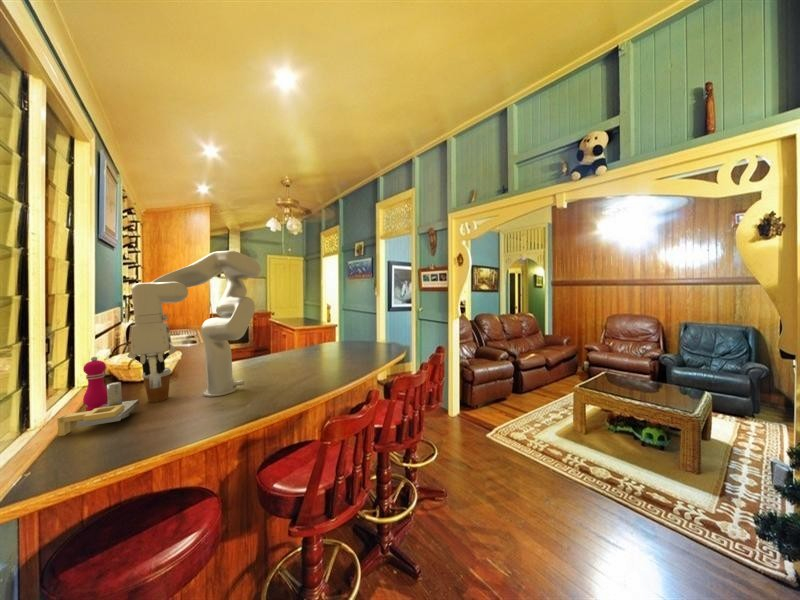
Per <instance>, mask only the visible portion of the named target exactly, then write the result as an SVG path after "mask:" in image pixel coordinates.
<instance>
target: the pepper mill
mask: <svg viewBox="0 0 800 600" xmlns="http://www.w3.org/2000/svg"><path fill="white" fill-rule="evenodd" d="M90 360H91V361H88V362H87V363H85V364H84V365H83V369H82V370H83V372H84V373H85V374H86V375H85V377H86V378H85V379H86V380H87V389H86V391H85V393H84V395H83V398H82V402H83V404H84V405H86V406H85V412H86V411H92V410H93V409H95V408H99V407H100V406H102V405H104V404H108V398H107V386H105V385H106V384H105V383H104V377H105V376H106V375H105V370H106V369H107V365H106V362H104V361H102V360H99V359H98V357H97V356H92V357H90Z"/></svg>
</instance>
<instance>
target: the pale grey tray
mask: <svg viewBox="0 0 800 600" xmlns="http://www.w3.org/2000/svg"><path fill="white" fill-rule="evenodd" d="M106 388H107V398H108V401H107V402H108V404H104V405H102V406H100V407H99V408H102V407H109V406H116V405H123V404H124V409H123V410H122V411H121V412H119V413H118V414H117V415H116V416H115V417H109V418H102V419H96V420H89V421H83V419H82V420H78V421H77V422H76V423H77V426H76V427H77V428H83V427H88V426H96V425H102V424H108V423H114V422H120V421H122V420H124V419H126V417H127V418H128V417H130V412H131V411H132V410H134V409H135V408H136V407H137V406H138V405H140V401H139V399H135V400H126V401H123V395H122V393H123V392H122V382H121V381H116V382H110V383H107V384H106ZM121 419H122V420H121Z"/></svg>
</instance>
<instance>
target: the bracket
mask: <svg viewBox="0 0 800 600" xmlns="http://www.w3.org/2000/svg"><path fill="white" fill-rule="evenodd" d="M123 409H124V404H123V405H116V406H109V407H102V408H95V409H93V410H92V411H86V410H85V411H81V412H73V413H67V414H62V415H60V416H59V417H56V420H57V434H58V437H64V436H66V435H67V434H69V433H70V432H71V422H75V421H80V420H82V419H83V421H89V420H96V419H102V418H109V417H115V416H116V415H117V414H118V413H119V412H121V411H122V410H123Z"/></svg>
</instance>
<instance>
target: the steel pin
mask: <svg viewBox="0 0 800 600" xmlns="http://www.w3.org/2000/svg"><path fill="white" fill-rule="evenodd" d="M146 356H147V360H148V370H149V381H150V388H151V389H153V388H158V387H161V376H160V374H159V373H158V364H157V363H158V362H159V358H158V353H149V354H146Z"/></svg>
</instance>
